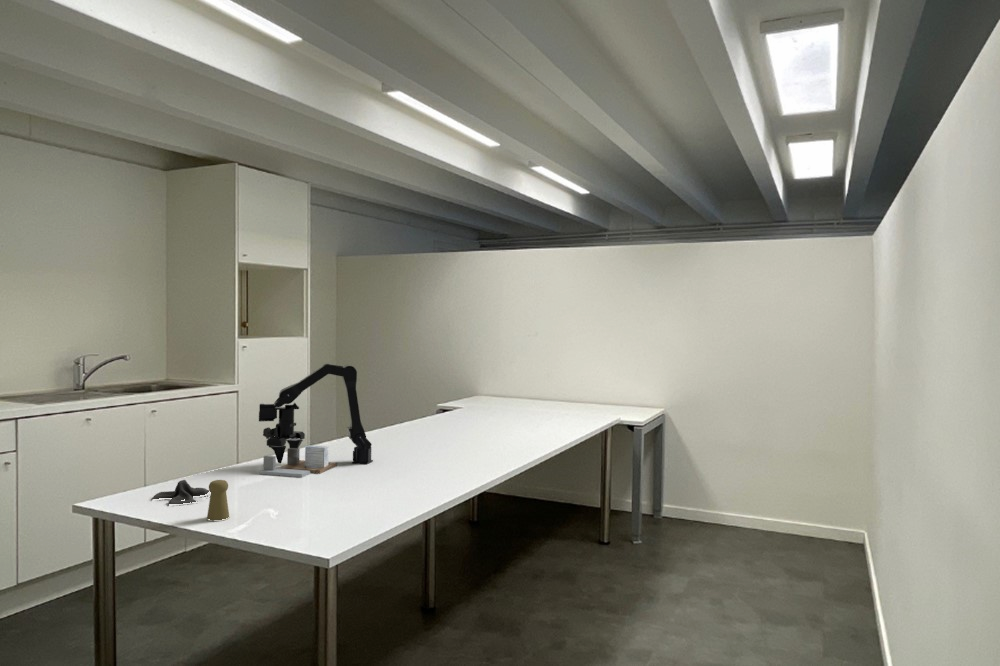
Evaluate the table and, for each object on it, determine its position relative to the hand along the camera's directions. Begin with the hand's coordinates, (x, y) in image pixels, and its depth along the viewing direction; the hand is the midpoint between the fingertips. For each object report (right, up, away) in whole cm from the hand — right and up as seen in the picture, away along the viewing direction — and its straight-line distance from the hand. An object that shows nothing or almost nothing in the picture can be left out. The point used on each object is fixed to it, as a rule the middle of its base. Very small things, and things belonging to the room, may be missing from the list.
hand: (285, 460), depth 265 cm
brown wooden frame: (+9, -3, -2) cm, 10 cm away
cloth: (-18, -4, -45) cm, 49 cm away
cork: (+2, -4, -68) cm, 68 cm away
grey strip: (+4, -3, -13) cm, 13 cm away
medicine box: (+13, -3, -3) cm, 13 cm away
